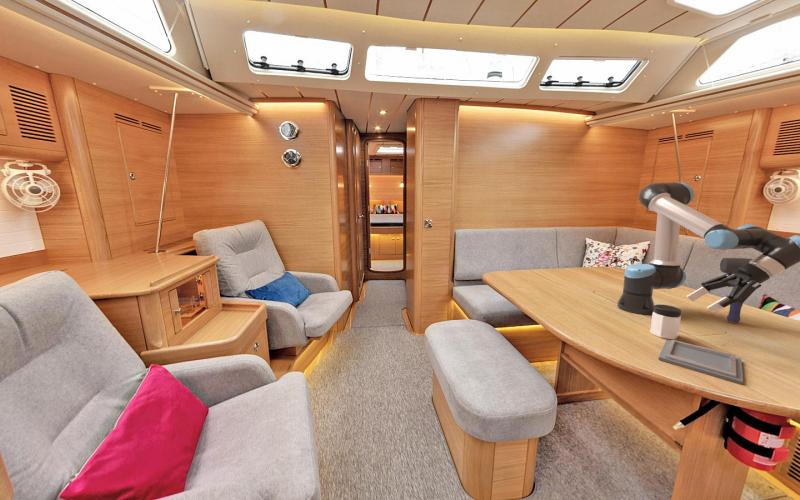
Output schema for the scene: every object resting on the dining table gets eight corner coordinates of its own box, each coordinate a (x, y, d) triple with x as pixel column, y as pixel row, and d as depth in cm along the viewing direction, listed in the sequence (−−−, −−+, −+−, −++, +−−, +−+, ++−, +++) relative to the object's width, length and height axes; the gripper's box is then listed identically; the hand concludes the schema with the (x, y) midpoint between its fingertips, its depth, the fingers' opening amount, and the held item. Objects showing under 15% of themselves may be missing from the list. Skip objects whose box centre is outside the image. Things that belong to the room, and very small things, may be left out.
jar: (674, 341, 111) (678, 313, 109) (647, 334, 118) (651, 307, 116) (680, 335, 116) (684, 308, 114) (654, 328, 123) (658, 302, 121)
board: (658, 359, 99) (658, 357, 99) (666, 341, 111) (666, 339, 111) (742, 384, 84) (743, 381, 84) (740, 361, 97) (741, 358, 96)
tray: (665, 357, 98) (665, 354, 98) (671, 342, 109) (671, 339, 108) (735, 377, 86) (736, 373, 86) (734, 358, 97) (735, 355, 96)
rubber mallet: (716, 322, 127) (726, 258, 122) (710, 316, 133) (720, 255, 128) (758, 328, 120) (770, 261, 115) (749, 322, 126) (761, 258, 122)
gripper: (799, 286, 91) (729, 323, 99) (742, 270, 113) (689, 301, 121) (779, 270, 92) (711, 307, 100) (727, 256, 115) (675, 288, 123)
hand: (699, 304), depth 111 cm, fingers open, 13 cm apart
